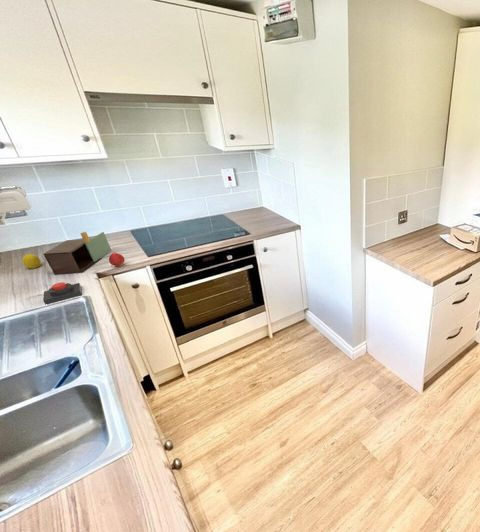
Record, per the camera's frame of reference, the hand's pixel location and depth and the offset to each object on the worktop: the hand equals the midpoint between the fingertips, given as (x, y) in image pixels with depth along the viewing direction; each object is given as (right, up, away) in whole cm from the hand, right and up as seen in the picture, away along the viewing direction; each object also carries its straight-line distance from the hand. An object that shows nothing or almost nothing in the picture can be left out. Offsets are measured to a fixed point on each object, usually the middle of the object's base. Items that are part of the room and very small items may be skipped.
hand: (0, 224), depth 124 cm
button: (+13, -25, +10) cm, 30 cm away
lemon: (-22, -18, +31) cm, 42 cm away
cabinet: (-5, -16, +34) cm, 38 cm away
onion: (+15, -16, +35) cm, 42 cm away
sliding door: (-1, -10, +44) cm, 45 cm away
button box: (+13, -28, +11) cm, 33 cm away
